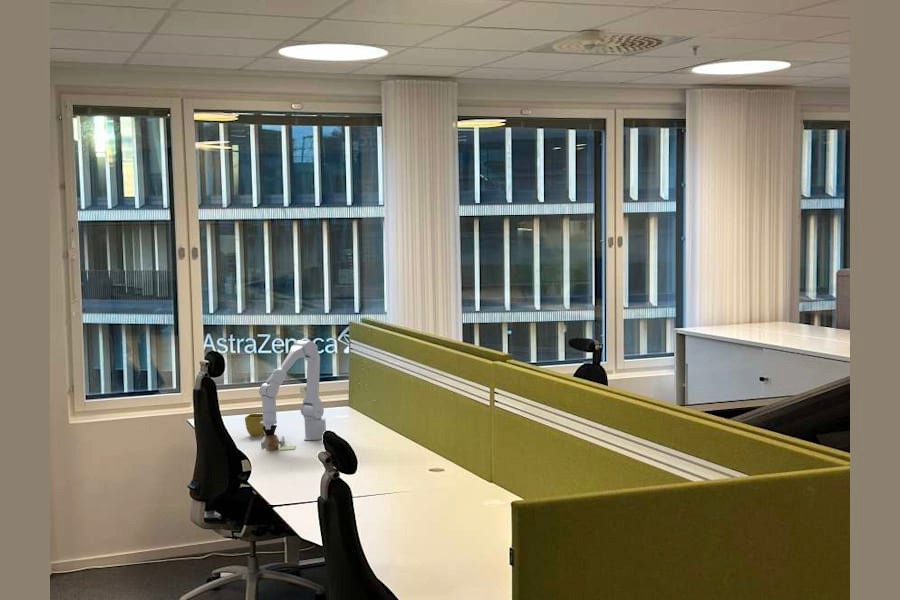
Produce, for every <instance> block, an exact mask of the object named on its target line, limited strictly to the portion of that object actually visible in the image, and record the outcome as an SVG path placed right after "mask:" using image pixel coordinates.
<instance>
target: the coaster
mask: <svg viewBox="0 0 900 600" xmlns="http://www.w3.org/2000/svg"><path fill="white" fill-rule="evenodd" d="M296 447H297V446H296V445H283V446H281V447H280V450H279V451H295V449H296Z"/></svg>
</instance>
